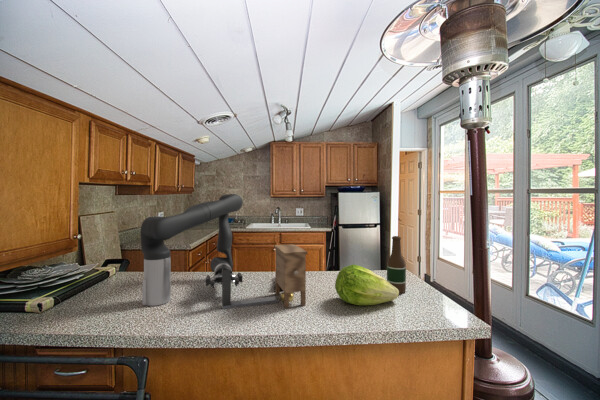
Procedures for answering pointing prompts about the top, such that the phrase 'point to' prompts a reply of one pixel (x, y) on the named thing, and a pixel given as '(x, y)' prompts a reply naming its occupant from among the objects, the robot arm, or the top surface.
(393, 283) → the beer bottle
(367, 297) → the lettuce
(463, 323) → the top surface
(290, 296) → the brass puck
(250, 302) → the grey l-shaped bracket
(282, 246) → the walnut cabinet
